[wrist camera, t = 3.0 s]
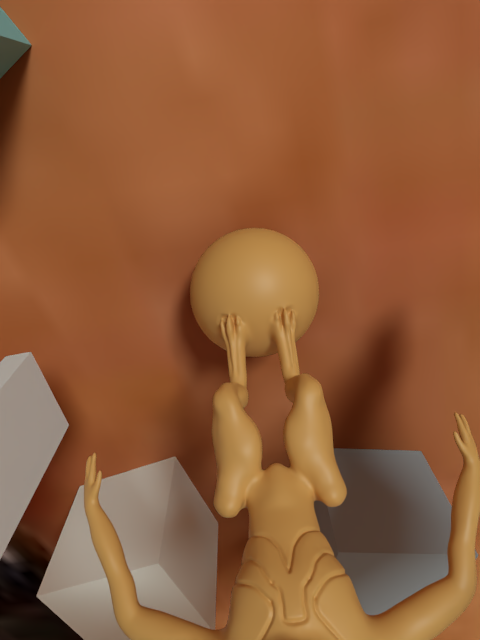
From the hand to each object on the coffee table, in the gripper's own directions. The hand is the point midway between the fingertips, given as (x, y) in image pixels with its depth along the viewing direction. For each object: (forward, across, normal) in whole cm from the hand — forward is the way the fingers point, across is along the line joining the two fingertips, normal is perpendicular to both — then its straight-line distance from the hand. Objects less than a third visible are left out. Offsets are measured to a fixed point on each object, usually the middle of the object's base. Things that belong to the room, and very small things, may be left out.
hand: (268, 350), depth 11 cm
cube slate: (+4, +3, -11) cm, 12 cm away
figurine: (+4, 0, 0) cm, 4 cm away
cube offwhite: (+4, -7, -10) cm, 13 cm away
